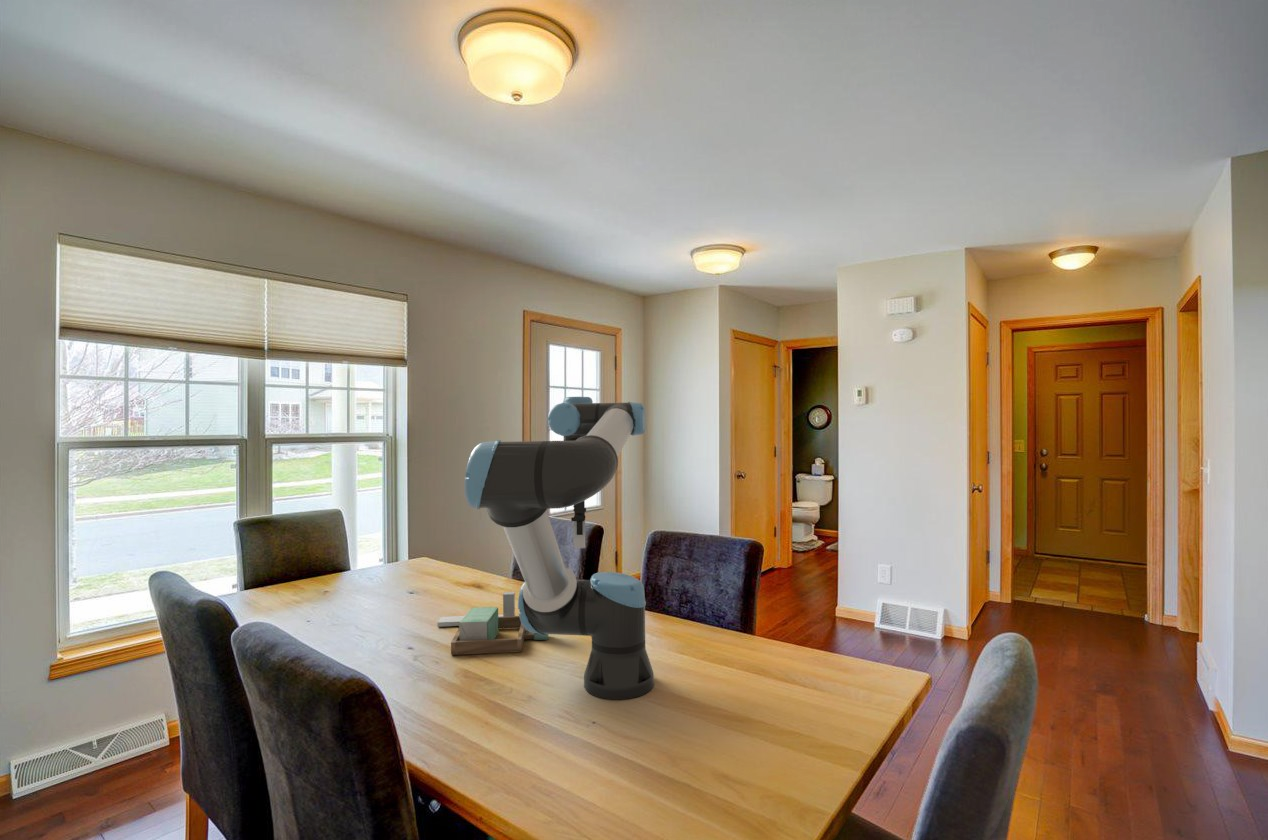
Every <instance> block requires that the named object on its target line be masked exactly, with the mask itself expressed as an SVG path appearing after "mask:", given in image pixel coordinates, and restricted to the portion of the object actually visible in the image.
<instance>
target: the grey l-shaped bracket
mask: <svg viewBox="0 0 1268 840" xmlns="http://www.w3.org/2000/svg"><path fill="white" fill-rule="evenodd" d="M502 598H503V599H502V612H503V613H501V614H499V613H498V617H504V616H516V592H515V590H513V591H504V592H503V594H502ZM465 616H466V615H454V616H441V617H440V618H439V620H438V621H437V624H436V625H437V627H442V628H443V627H459V623H460V621H461V620H462V619H463V618H464V617H465Z"/></svg>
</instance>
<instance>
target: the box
mask: <svg viewBox="0 0 1268 840" xmlns="http://www.w3.org/2000/svg"><path fill="white" fill-rule="evenodd" d="M498 614H499V607H497V606H479V607H476V606H475V607H472V608H470V610H469V611H468V612H467V613H466V614H465V615H464V616H465V617H464V618H463V619H462V620H461V621H460V623H459V626H458V629H460V641H466V640H488V639H496V637H497V635H498V634H499V629H498Z"/></svg>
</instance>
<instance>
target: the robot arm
mask: <svg viewBox="0 0 1268 840" xmlns="http://www.w3.org/2000/svg"><path fill="white" fill-rule="evenodd" d="M547 422H548V423H547V424H548V426H549V428H550V430H551V431H553V433H555V434H556V435H559V436H562V437H563V440H531V441H529V440H528V441H527V440H525V441H524V440H523V441H518V440H517V441H501V440H500V439H498V440H495V441H494V440H493V441H483V442H480V443H478V444H477V445H476V446H475V447H474V448H473V449H472V451H471V453H470V455H469V458H468V461H467V465H466V468H465V475H464V476H465V477H464V494H465V499H466V502H467V504H468V505H469V506H470V507H471V508H476V510H477V509H478V510H480V509H485V510H486V512H487V514H488V516H489V518H490V520H491V521H492V522H493V523H494V524H496V525H497V526H499V527H501V528H503V530H504V533H505V536H506V538H507V540H508V543H509V545H510V548H511V549H512V553H513V556H514V557H515V560H516V563H517V565H518V567H519V571H520V573H521V575H522V578H523V580H524V582H523V583H522V585H521V586H520V588H519V589H520V590H519V592H518V598H517V599H518V600H517V609H518V610H519V611H518V612H519V613H518V616H519V617H520V621H521V623H522V625H523V627H524V628H525V629H526V632H532V633H538V634H542V635H545V634H548V635H559V636H560V635H561V636H564V635H565V636H585V637H586V636H587V637H588V636H589V637H591V650H590V653H589V657H588V660H587V664H586V667H585V670H584V673H583V674H584V675H583V686H584V689H585V691H586V692H588V693H589V694H590V695H593V696H595V697H597V698H602V699H604V700H605V699H606V700H629V699H634V698H638V697H641V696H644V695H646V694H647V693H649V692H650V691H651V690H652V689H653V688H654V684H655V679H654V676H655V674H654V670H653V666H652V664H651V661H650V658H649V655H648V652H647V649H646V605H647V601H646V596H645V587H644V584H643V582H642V581H641V580H639V579H638V578H637V577H635V576H633V575H629V574H626V573H622V572H615V571H606V572H605V571H600V572H596V573H593V574H592V575H591V577H590V579H577V578H576V575H575V573H574V571H573V570H572V569H571V568H570V567H567V566H566V565H565V563H564V559H563V557H562V553H561V550H560V548H559V544H558V542H557V541H558V540H557V538H556V535H555V533H554V529H553V525H552V522H551V519H550V516H549V513H548V509H563V508H568V507H572V508H573V517H571V520H570V521H571V522H573V549H586V512H587V507H586V506H585V501H586V500H588V499H590V498H591V497H594V495H596V494H598V493H599V492H600V491H602V490H603V489H604V488H605V487H607V485H608V484H609V483H610V482H611V481H612V479H613V478H614V476H615V474H616V472H617V470H618V465H619V458H618V457H619V455H620V454H621V452H622V450H623V448H624V447H625V445H626V443H627V441H628V439H629V438H630V436H638V435H643V434H644V433H645V432H646V427H647V412H646V407H645V405H644V404H643V403H642V402H632V401H627V402H593V399H592V397H589V396H567V397H565V398H563V401H562V402H561V403H557V404H555V405H554V406H553V407H552V408H551V409H550V410H549V412H548V416H547Z"/></svg>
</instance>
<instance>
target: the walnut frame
mask: <svg viewBox="0 0 1268 840" xmlns="http://www.w3.org/2000/svg"><path fill="white" fill-rule="evenodd" d="M499 629H501V630H502V629H503V630H504V629H519V631H518V634H517V635H518V636H517V637H512V638H495V639H488V640H466V641H460V629H459V628H458V629H457V631H456V633H455V634H454V635H453V638H452V641H450V655H452V656H455V655H457V656H458V655H476V654H478V655H479V654H495V653H515V652H516V653H519V652H522V650H523V646H524V641H525V640H534V641H541V640H549V634H545V635H542V634H538V633H532V632H529V631H527V630H526V629H525V628H524V627H523V625H522V623H521V621H520V617H519V615H515V616H504V617H498V630H499Z"/></svg>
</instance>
